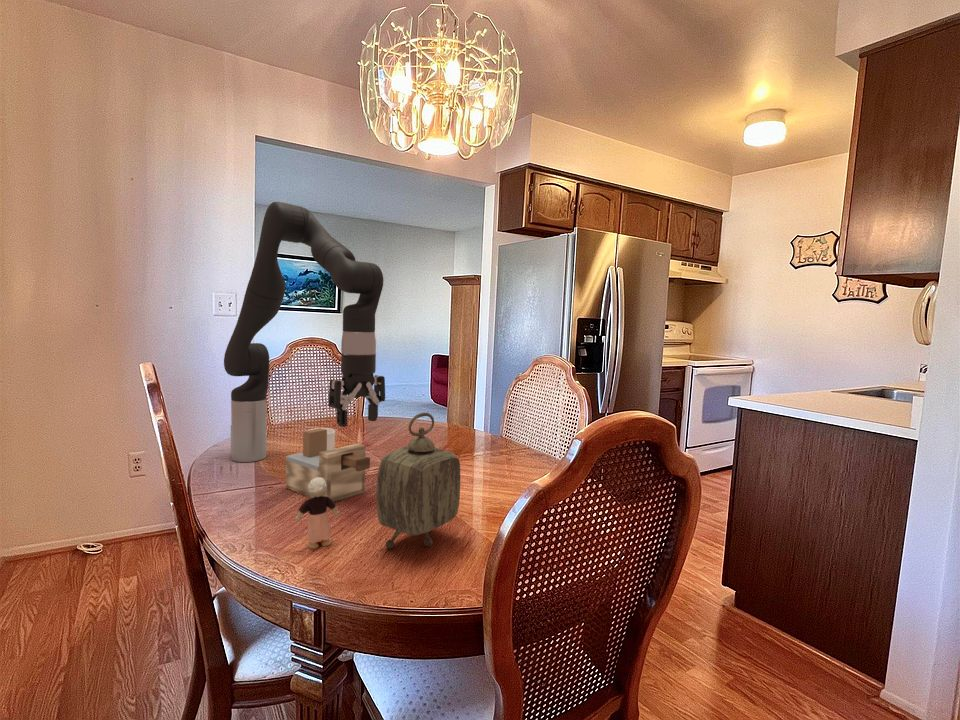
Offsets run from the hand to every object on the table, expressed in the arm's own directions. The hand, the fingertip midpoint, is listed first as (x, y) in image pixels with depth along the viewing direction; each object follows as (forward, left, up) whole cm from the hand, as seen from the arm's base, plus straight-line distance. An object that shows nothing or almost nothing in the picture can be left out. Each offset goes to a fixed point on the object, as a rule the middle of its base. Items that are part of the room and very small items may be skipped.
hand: (357, 423), depth 115 cm
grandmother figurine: (+11, -19, -18) cm, 29 cm away
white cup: (-29, +11, -18) cm, 36 cm away
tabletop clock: (+25, -6, -18) cm, 32 cm away
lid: (-13, 0, -11) cm, 17 cm away
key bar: (-4, 0, -10) cm, 11 cm away
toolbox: (-12, 0, -18) cm, 21 cm away
